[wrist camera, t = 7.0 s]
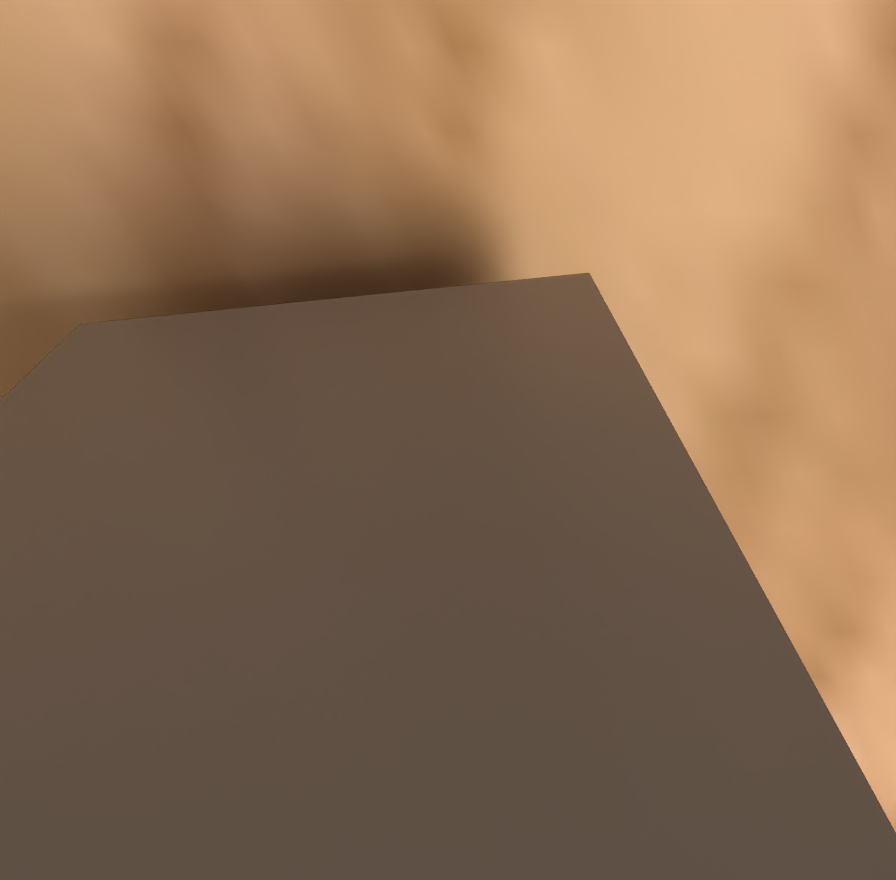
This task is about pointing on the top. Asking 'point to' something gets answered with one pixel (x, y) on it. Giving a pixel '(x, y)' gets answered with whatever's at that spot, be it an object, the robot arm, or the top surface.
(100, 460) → the grey rectangular block
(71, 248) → the top surface
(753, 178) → the top surface
